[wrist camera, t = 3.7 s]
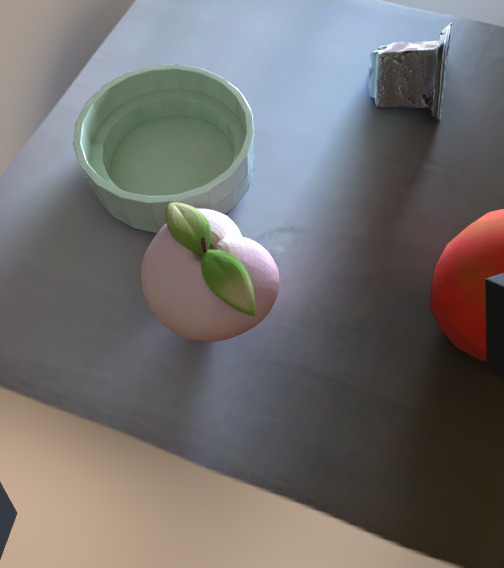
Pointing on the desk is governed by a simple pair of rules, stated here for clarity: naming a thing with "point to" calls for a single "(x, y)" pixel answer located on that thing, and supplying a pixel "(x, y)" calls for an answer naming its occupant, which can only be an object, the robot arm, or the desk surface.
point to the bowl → (166, 143)
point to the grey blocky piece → (410, 74)
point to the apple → (468, 282)
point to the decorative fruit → (207, 276)
